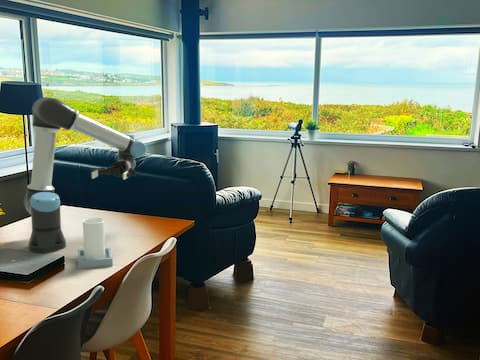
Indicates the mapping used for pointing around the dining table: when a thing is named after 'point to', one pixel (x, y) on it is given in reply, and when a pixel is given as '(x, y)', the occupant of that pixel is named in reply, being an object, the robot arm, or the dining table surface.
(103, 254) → the cup
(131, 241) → the dining table surface
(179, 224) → the dining table surface
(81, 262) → the dock tray
